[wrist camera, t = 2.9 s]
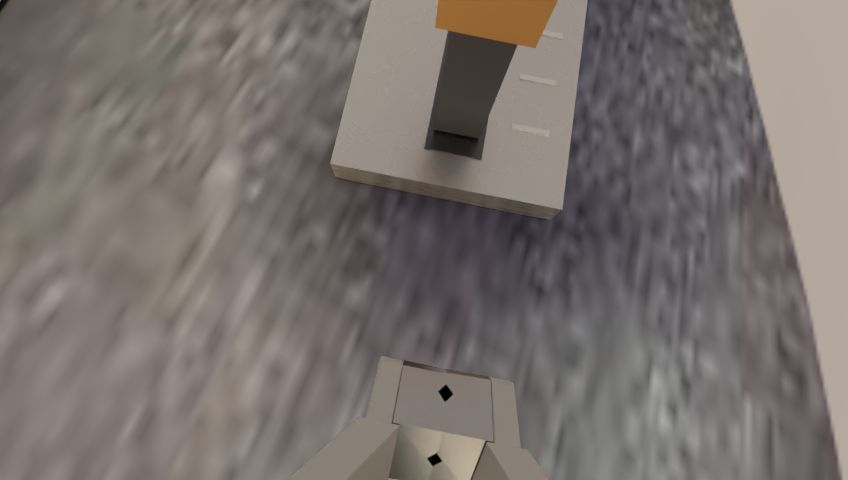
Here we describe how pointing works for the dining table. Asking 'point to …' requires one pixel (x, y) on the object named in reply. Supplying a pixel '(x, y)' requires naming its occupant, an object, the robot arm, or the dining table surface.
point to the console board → (451, 153)
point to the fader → (482, 55)
